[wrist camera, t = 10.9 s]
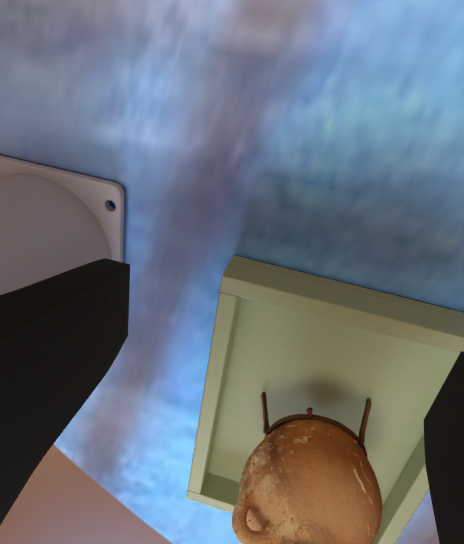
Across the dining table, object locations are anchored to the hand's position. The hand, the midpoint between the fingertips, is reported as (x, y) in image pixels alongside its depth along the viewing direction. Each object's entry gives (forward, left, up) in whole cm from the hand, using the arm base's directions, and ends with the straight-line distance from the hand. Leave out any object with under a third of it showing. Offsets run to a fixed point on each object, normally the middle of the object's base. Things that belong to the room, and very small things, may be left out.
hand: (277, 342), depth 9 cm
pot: (-11, -3, -9) cm, 15 cm away
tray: (-11, -3, -9) cm, 15 cm away
